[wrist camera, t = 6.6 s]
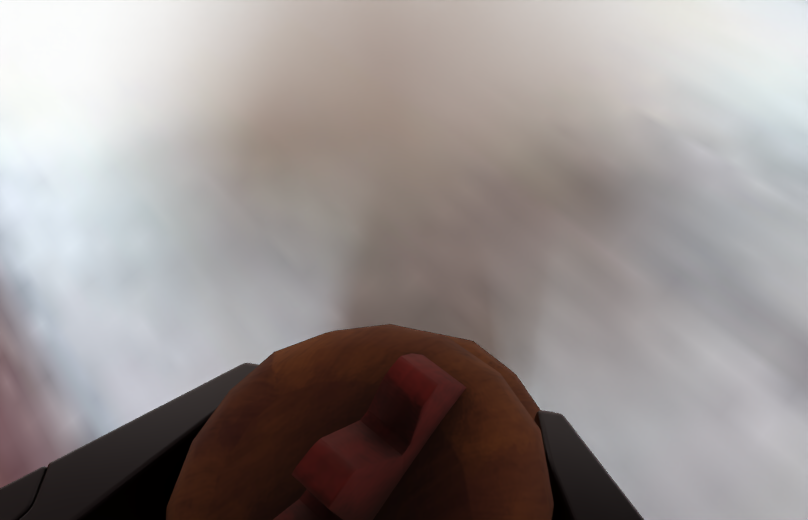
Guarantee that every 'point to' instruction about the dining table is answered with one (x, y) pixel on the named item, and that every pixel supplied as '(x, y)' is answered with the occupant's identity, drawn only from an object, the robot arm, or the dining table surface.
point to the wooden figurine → (370, 436)
